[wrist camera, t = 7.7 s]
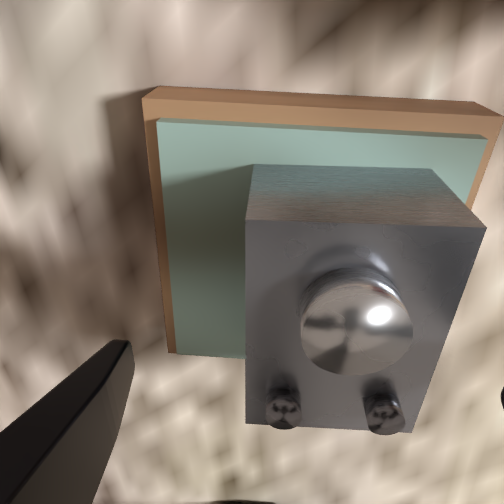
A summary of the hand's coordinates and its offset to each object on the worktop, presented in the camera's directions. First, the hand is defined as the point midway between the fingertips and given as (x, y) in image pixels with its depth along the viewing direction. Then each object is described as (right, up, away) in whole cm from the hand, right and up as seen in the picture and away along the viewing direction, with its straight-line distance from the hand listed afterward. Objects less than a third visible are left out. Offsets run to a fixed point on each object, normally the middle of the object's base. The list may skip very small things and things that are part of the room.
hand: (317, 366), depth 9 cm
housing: (+1, +2, +4) cm, 4 cm away
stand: (0, +4, +6) cm, 7 cm away
